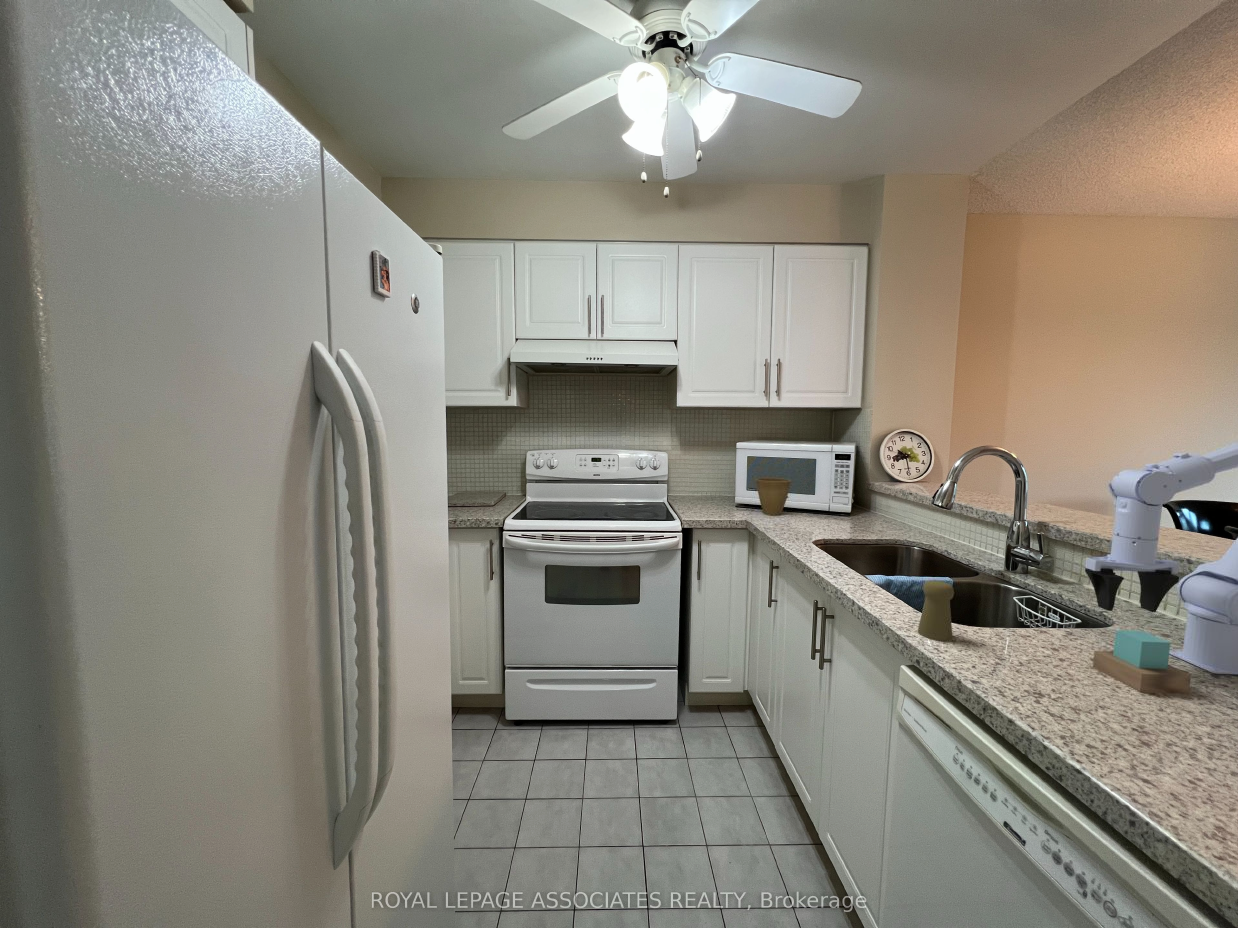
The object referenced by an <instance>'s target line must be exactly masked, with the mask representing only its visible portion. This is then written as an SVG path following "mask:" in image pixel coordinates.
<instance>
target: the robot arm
mask: <svg viewBox="0 0 1238 928" xmlns="http://www.w3.org/2000/svg"><path fill="white" fill-rule="evenodd" d="M1172 456H1173V457H1172V458H1170V459H1167V460H1163V461H1160V462H1158V463H1152V462H1151V463H1147V464H1144V465H1145V466H1144V467H1143V468H1141V469H1131V468H1129V469H1125V470H1122V471H1120V472H1119V473H1117V474H1116V475H1114V477H1113V478H1112V480H1111V482H1108V486H1107V487H1108V491H1109V493H1110V494H1111V496H1112V498H1113V506H1114V507H1115V511H1114V512H1115V513H1114V520H1113V529H1112V539H1111V548H1110V554H1107V555H1106V556H1100V557H1099V556H1097V557H1086V558H1085V568H1084V572H1085V573H1086V575H1087V576H1088V579H1089V580H1090V583H1091V584H1092V588H1093V590H1094V592H1095V598H1096V601H1097V602H1096V603H1097V607H1098V608H1100V609H1103V610H1105V611H1109V612H1112V611H1113V609H1114V607H1115V602H1116V597H1117V593H1118V590H1119V587H1120V585H1121V584H1122V582H1123V581H1124V580H1125V577H1124V576H1121V575H1118V574H1116V572H1114V571H1118V572H1119V571H1120V572H1137V575H1138V578H1139V584H1140V596H1139V597H1140V598H1139V603H1140V608H1141V609H1142V610H1145V611H1149V612H1151V613H1156V612H1157V611H1158V609H1159V607H1160V604H1161V603H1162V601H1163V599H1164V598H1165V596H1166V595H1167V593H1168V592H1169V591H1170V590H1171V589H1172V588H1173V587H1174V586H1176V584H1177V587H1176V594H1177V596H1178V598H1179V600H1180V601H1182V603H1184V607H1183V608H1184V609H1186V610H1187V615H1186V622H1185V631H1184V639H1183V645H1182V650H1170V651H1169V655H1171V656H1173V657H1176V658H1178V659H1180V660H1182V661H1185V662H1187V663H1190V664H1192V665H1194V666H1196V667H1198V668H1201V669H1202V670H1205V671H1208V672H1210V673H1212V674H1215V675H1216V674H1217V675H1238V537H1237V538H1236V539H1235V541H1234V542H1233V543H1232V544H1231V545H1230V547H1229V548H1228V549H1227V550H1226V552H1225V553H1224V554H1223V556H1222V557H1221V558H1220V559H1218V560H1214V561H1211V562H1206V563H1202V564H1199V565H1198V566H1197V567H1196V569H1195V570H1193V572H1191V573H1189V574H1187V575H1184V576H1183V577H1182V578H1181V579H1180V576H1178V575H1177V574H1179V571H1180V562H1177V561H1173V560H1170V559H1157V552H1158V545H1159V544H1158V543H1159V534H1160V527H1161V519H1162V511H1163V505H1166V504H1167V503H1169V502H1170V501H1171V500H1172V499H1173V498H1174V496H1175V495H1176V494H1178V493H1180V492H1184V491H1187V490H1190V489H1194V488H1196V487H1199V486H1203V485H1205V484H1209V483H1211V482H1212V481H1213V480H1214V479H1215V477H1216V474H1217V473H1221V472H1225V471H1228V470H1232V469H1235V468H1238V441H1237V442H1234V443H1232V444H1228V445H1226V446H1224V447H1221V448H1219V449H1216V450H1213V451H1210V452H1208V453H1206V454H1203V455H1200V454H1197V453H1188V452H1177V453H1174V454H1172ZM1175 574H1176V575H1175Z"/></svg>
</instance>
